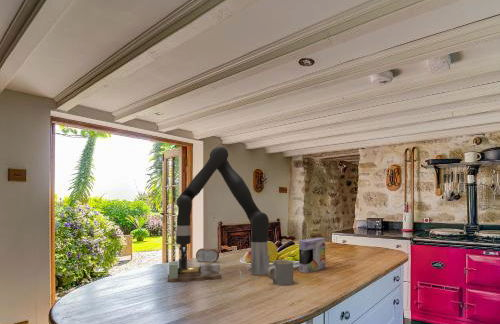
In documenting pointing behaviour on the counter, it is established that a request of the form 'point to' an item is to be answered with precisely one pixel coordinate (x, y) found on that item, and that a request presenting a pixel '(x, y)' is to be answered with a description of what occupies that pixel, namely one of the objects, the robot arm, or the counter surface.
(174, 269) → the socket block
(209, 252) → the tin
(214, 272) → the stand
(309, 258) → the cake pan box
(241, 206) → the robot arm
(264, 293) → the counter surface
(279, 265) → the coffee mug
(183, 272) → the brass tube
